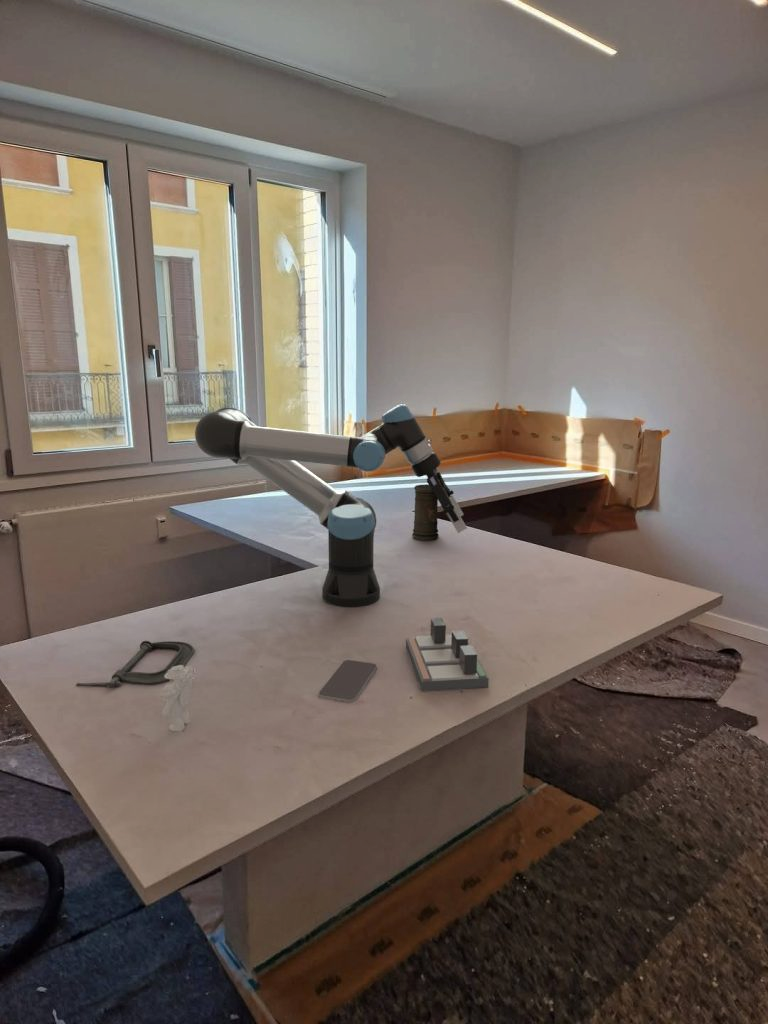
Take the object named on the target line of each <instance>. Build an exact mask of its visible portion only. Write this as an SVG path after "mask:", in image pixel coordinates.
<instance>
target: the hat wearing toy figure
mask: <svg viewBox="0 0 768 1024" xmlns="http://www.w3.org/2000/svg"><path fill="white" fill-rule="evenodd" d="M183 666H184V665H178V666H174V667H172V668H171V669H170V670H168V671H167V673H166V674H165V675H164V677H165V678H166V679H170V681H169V683H168V682H165V683H166V684H165V686H164V687H163V688H161V689H159V691H158V693H160V695H159V697H160V698H161V699H162V701H163V702H166V703H165V705H164V706H165V707H164V708H163V710H162V711H161V713H160V714H161V716H162V718H163V719H168V715H169V714H170V713H171V720H172V723H171V724H170V725H169V731H172V732H182V731H184V729H185V725H187V724H188V723H190V721H191V719H190V715H189V712H188V710H187V706H188V704H187V703H188V701H189V700H190V698H191V695H192V694H193V683H192V682H191V680H190V679H192V680H193V681H195V680H196V679H197V673H196V672H197V671H196V670H197V669H195V668H193V666H192V665H188V666H186V665H185V666H184V667H183ZM163 697H165V698H166V699H165V698H163ZM171 708H172V709H171Z"/></svg>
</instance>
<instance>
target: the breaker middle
mask: <svg viewBox="0 0 768 1024" xmlns="http://www.w3.org/2000/svg"><path fill="white" fill-rule="evenodd" d="M451 635H452V642H451V649H452V651H453V653H454V655H455V657H456V658H458V657H460V646H468V643H469V638H468V636H467V635H466V633H465V631H464V630H451Z"/></svg>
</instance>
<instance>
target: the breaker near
mask: <svg viewBox="0 0 768 1024" xmlns="http://www.w3.org/2000/svg"><path fill="white" fill-rule="evenodd" d="M473 646H474V645H471V644H469V645H468V646H460V658H459V665H460V667H461V669H462V671H463V673H464V674H476V671H477V659H478V654H477V652H476V650H475V648H474V647H473Z"/></svg>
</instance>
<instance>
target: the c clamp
mask: <svg viewBox="0 0 768 1024" xmlns="http://www.w3.org/2000/svg"><path fill="white" fill-rule="evenodd" d="M139 649H140V650H139V651H138V652H137V653H136V654H135V655H133V657H132V658H131V659H130V660H129V661H128V662H127V663H126V664H125V665H124V666H123V667H122V668H121V669H117V670H116V671H115V672H114V674H113V675H112V676H111V680H109V682H85V683H81V682H77V683H76V685H75V686H76V687H108V688H109V689H115V688H116V687H120V686H121V683H122V682H124V683H128V684H134V685H143V686H155V685H156V686H157V685H161V684H162V685H163V684H165V683H166V682H167V683H168V682H170V679H166V678H165V677H164V675H165V674H166V673H167V671H168V670H170V669H171V668H172V667H174V666H178V665H184V666H183V667H186V665H187V663H188V662H189V661H190V660H191V658H192V656H193V655H194V653H195V647H194V646H193V645H192V644H191V643H187V642H184V641H156V642H155V641H154V642H151V641H150V640H144V641H142V642H140V645H139ZM152 650H169V651H177V652H176V654H175V655H174V657H172V659H171V660H170V662H169V663H168V664H167V665H166V667H164V668H163V669H162V670H159V671H155V672H143V671H141V672H140V671H131V670H132V669H133V668H134V667H135V665H137V663H139V661H140V660H141V659H142V658H143V657H144V656H145V655H146V654H148V653H150V652H151V653H152Z"/></svg>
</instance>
